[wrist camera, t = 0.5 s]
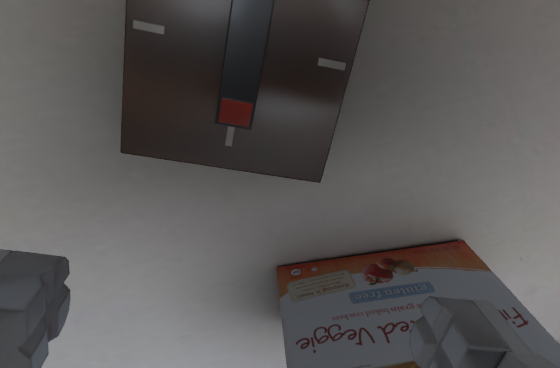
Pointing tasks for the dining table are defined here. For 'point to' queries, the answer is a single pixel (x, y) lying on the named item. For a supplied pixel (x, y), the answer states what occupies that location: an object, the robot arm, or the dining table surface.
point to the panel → (207, 75)
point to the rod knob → (243, 62)
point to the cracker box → (387, 305)
